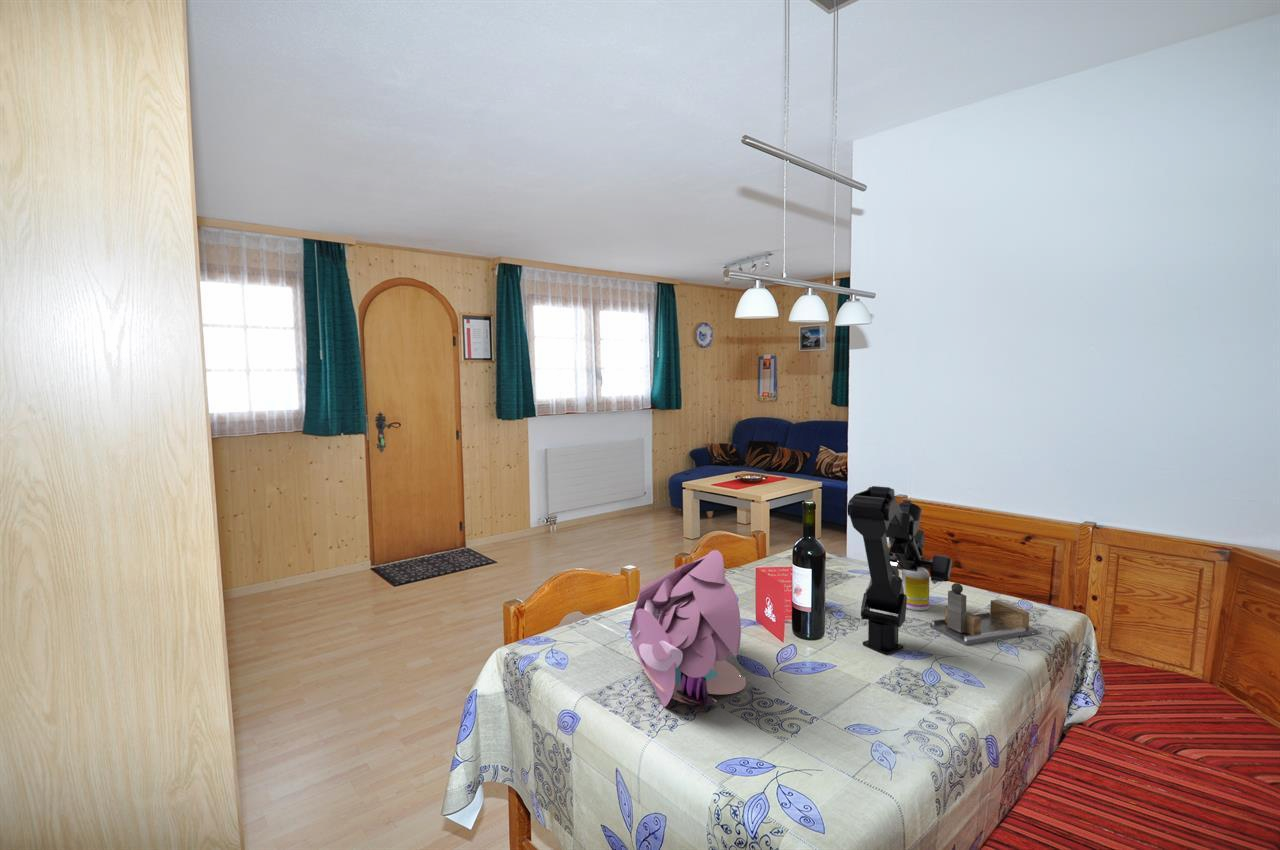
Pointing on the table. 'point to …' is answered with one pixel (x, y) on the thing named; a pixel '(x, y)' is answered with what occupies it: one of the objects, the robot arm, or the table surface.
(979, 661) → the table surface
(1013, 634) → the bench clamp
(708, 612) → the flower arrangement
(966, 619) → the sliding jaw
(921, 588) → the supplement bottle
